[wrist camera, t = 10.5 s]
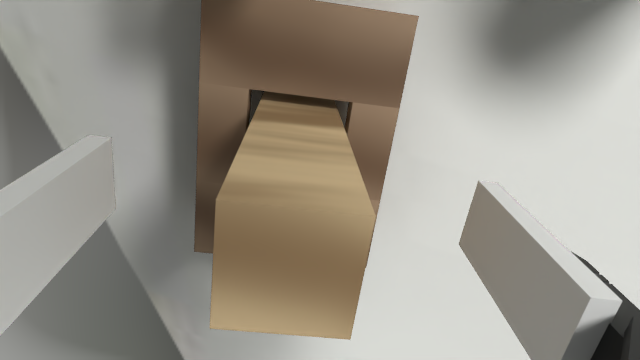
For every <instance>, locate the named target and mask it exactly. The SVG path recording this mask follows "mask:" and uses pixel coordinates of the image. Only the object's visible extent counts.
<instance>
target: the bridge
mask: <svg viewBox="0 0 640 360" xmlns="http://www.w3.org/2000/svg"><path fill="white" fill-rule="evenodd" d="M418 17H419V16H415V15H408V14H402V13H395V12H388V11H381V10H375V9H368V8H361V7H355V6H348V5H341V4H335V3H328V2H321V1H314V0H201V34H200V68H199V103H198V138H197V173H196V208H195V243H194V252H204V253H213V248H214V228H215V207H216V198H217V196H218V194H219V191H220V189H221V187H222V185H223V183H224V180H225V178H226V176H227V174H228V171H229V169H230V167H231V165H232V163H233V160H234V158H235V156H236V154H237V151H238V149H239V147H240V145H241V142H242V140H243V138H244V136H245V134H246V131H247V129H248V127H249V118H250V105H251V91H252V89H253V90H261V91H268V92H276V93H284V94H292V95H299V96H307V97H315V98H323V99H331V100H338V101H346V102H349V104H348V110H347V116H346V122H345V131H346V134H347V137H348V140H349V142H350V145H351V148H352V151H353V154H354V156H355V159H356V162H357V165H358V168H359V170H360V173H361V176H362V179H363V182H364V184H365V187H366V190H367V193H368V196H369V199H370V201H371V204H372V207H373V210H374V213H375V215H376V218H377V213H378V208H379V203H380V199H381V194H382V189H383V184H384V179H385V175H386V170H387V165H388V160H389V156H390V151H391V146H392V141H393V136H394V132H395V127H396V122H397V117H398V112H399V108H400V103H401V98H402V93H403V89H404V84H405V79H406V74H407V69H408V65H409V60H410V55H411V50H412V46H413V41H414V36H415V31H416V26H417V22H418ZM376 218H375V222H376ZM374 227H375V223H374ZM373 232H374V228H373ZM372 237H373V233H372ZM372 237H371V242H372ZM371 242H370V246H371ZM369 251H370V247H369ZM368 256H369V252H368ZM367 261H368V257H367ZM367 261H366V265H367ZM365 268H366V266H365Z"/></svg>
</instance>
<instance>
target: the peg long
mask: <svg viewBox="0 0 640 360" xmlns="http://www.w3.org/2000/svg"><path fill="white" fill-rule="evenodd" d="M375 218H376V215H375V213H374V210H373V207H372V204H371V201H370V199H369V196H368V193H367V190H366V187H365V184H364V182H363V179H362V176H361V173H360V170H359V168H358V165H357V162H356V159H355V156H354V154H353V151H352V148H351V145H350V142H349V140H348V137H347V134H346V131H345V128H344V126H343V123H342V120H341V117H340V114H339V112H338V109H337V106H336V103H335V100H331V99H323V98H315V97H307V96H299V95H292V94H284V93H276V92H268V91H264V93H263V96H262V98H261V100H260V102H259V105H258V107H257V109H256V111H255V114H254V116H253V118H252V120H251V122H250V125H249V127H248V129H247V131H246V134H245V136H244V138H243V140H242V142H241V145H240V147H239V149H238V151H237V154H236V156H235V158H234V160H233V163H232V165H231V167H230V169H229V171H228V174H227V176H226V178H225V180H224V183H223V185H222V187H221V189H220V191H219V194H218V196H217V198H216V207H215V228H214V248H213V269H212V290H211V311H210V329H222V330H235V331H247V332H260V333H273V334H286V335H299V336H312V337H324V338H337V339H350V338H351V334H352V329H353V324H354V319H355V314H356V310H357V305H358V300H359V295H360V290H361V286H362V281H363V276H364V271H365V266H366V261H367V257H368V252H369V247H370V242H371V237H372V233H373V228H374V223H375Z"/></svg>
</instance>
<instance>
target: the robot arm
mask: <svg viewBox="0 0 640 360" xmlns="http://www.w3.org/2000/svg"><path fill="white" fill-rule="evenodd" d="M115 209H116V203H115V186H114V169H113V152H112V137H103V136H95V135H87V136H86V137H84V138H83V139H81V140H79V141H78V142H76V143H75V144H73V145H71V146H70V147H68V148H67V149H65V150H63V151H62V152H60V153H59V154H57V155H55V156H54V157H52V158H51V159H49V160H47V161H46V162H44V163H43V164H41V165H39V166H38V167H36V168H34V169H33V170H31V171H30V172H28V173H26V174H25V175H23V176H22V177H20V178H18V179H17V180H15V181H14V182H12V183H10V184H9V185H7V186H6V187H4V188H2V189H1V190H0V336H1V335H2V334H3V333H4V332H5V331H6V329H7V328H8V327H9V326H10V325H11V324H12V323H13V322H14V321H15V319H16V318H17V317H18V316H19V315H20V314H21V313H22V312H23V311H24V310H25V308H26V307H27V306H28V305H29V304H30V303H31V302H32V301H33V299H34V298H35V297H36V296H37V295H38V294H39V293H40V292H41V291H42V290H43V288H44V287H45V286H46V285H47V284H48V283H49V282H50V281H51V280H52V278H53V277H54V276H55V275H56V274H57V273H58V272H59V271H60V270H61V269H62V268H63V266H64V265H65V264H66V263H67V262H68V261H69V260H70V259H71V258H72V257H73V255H74V254H75V253H76V252H77V251H78V250H79V249H80V248H81V247H82V245H83V244H84V243H85V242H86V241H87V240H88V239H89V238H90V236H92V234H93V233H94V232H95V231H96V230H97V229H98V228H99V227H100V226H101V224H102V223H103V222H104V221H105V220H106V219H107V218H108V217H109V216H110V215H111V213H112V212H113V211H114V210H115ZM459 245H460V247H461V249H462V250H463V252H464V253H465V255H466V257H467V258H468V260H469V261H470V263H471V265H472V266H473V268H474V269H475V271H476V272H477V274H478V276H479V277H480V279H481V280H482V282H483V284H484V285H485V287H486V288H487V290H488V292H489V293H490V295H491V296H492V298H493V300H494V301H495V303H496V304H497V306H498V308H499V309H500V311H501V312H502V314H503V316H504V317H505V319H506V320H507V322H508V323H509V325H510V327H511V328H512V330H513V331H514V333H515V335H516V336H517V338H518V339H519V341H520V343H521V344H522V346H523V347H524V349H525V351H526V352H527V354H528V355H529V357H530V359H531V360H640V310H639V309H638V308H637V307H636V306H635V305H634V304H633V303H631V302H630V301H629V300H628V299H627V298H626V297H625V296H624V295H623V294H622V293H621V292H620V291H619V290H617V289H616V288H615V287H614V286H613V285H612V284H609V281H608V280H607V279H606V278H605V277H603V276H602V275H599V272H598V271H597V270H596V269H595V268H594V267H593V266H592V265H591V264H589V263H588V262H587V261H586V260H584V259H582V258H581V257H579V256H578V255H576V254H574V253H573V252H571V251H570V250H569V249H568V248H566V247H565V246H564V245H563V244H562V243H561V242H560V241H559V240H558V239H557V238H556V237H555V236H554V235H553V234H552V233H551V232H550V231H549V230H547V229H546V228H545V227H544V226H543V225H542V224H541V223H540V222H539V221H538V220H537V219H536V218H535V217H534V216H533V215H532V214H531V213H530V212H529V211H527V210H526V209H525V208H524V207H523V206H522V205H521V204H520V203H519V202H518V201H517V200H516V199H515V198H514V197H513V196H512V195H511V194H510V193H508V192H507V191H506V190H505V189H504V188H503V187H502V186H501V185H500V184H499V183H496V182H487V181H479V180H478V184H477V187H476V190H475V193H474V196H473V200H472V203H471V206H470V209H469V213H468V216H467V219H466V222H465V226H464V229H463V232H462V235H461V238H460V242H459Z"/></svg>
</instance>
